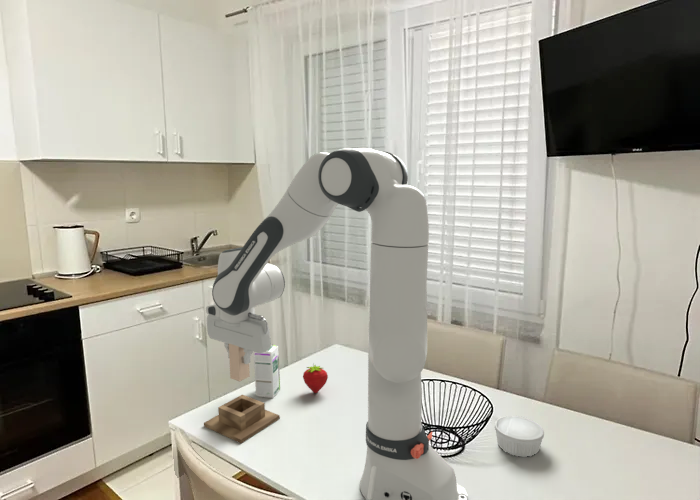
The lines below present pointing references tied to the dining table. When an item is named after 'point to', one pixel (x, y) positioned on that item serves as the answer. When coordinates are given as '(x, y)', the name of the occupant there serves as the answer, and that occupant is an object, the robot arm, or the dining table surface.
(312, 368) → the strawberry
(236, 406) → the wooden peg socket base
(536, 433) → the ramekin
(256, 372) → the syrup box
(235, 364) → the peach rectangular block
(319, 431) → the dining table surface
